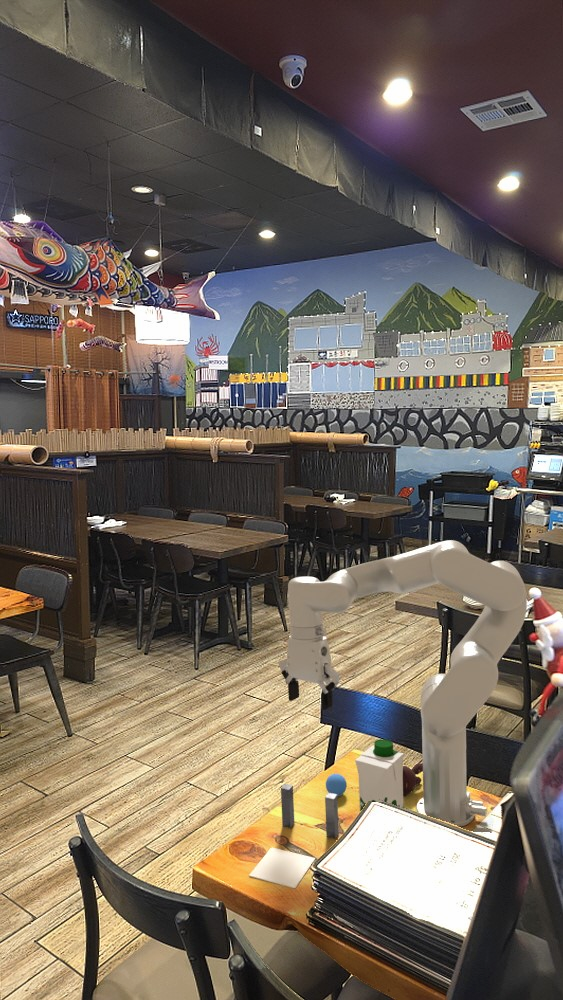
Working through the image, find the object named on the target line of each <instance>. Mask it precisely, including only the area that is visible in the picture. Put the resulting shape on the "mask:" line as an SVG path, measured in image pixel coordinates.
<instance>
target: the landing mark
mask: <svg viewBox="0 0 563 1000" xmlns="http://www.w3.org/2000/svg"><path fill="white" fill-rule="evenodd" d="M315 860H316V857H313V856H307V855H304V854H302V853H301V854H300V853H297V852H296V853H295V852H291V851H288V850H284V849H281V848H276V847H270V848H269V850H268V851H267V852H266V853H265V855H264V856H263V857H262V858H261V860H260V861H259V862H258V863H257V864H256V866H255V867H254V868H253V869H252V871H251V872H250V874H249V875H248V876H249V877H251V878H254V879H257V880H262V881H265V882H269V883H272V884H276V885H280V886H283V887H287V888H291V889H294V890H295V889H296V888H297V886H298V885H300V882H301V881H302V879H303V878H304V877H305V875H306V874H307V872H308V870H309V869H310V868H311V866H312V865H313V863H314V862H315ZM311 864H312V865H311Z"/></svg>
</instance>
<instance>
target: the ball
mask: <svg viewBox="0 0 563 1000" xmlns="http://www.w3.org/2000/svg"><path fill="white" fill-rule="evenodd" d="M347 783H348V782H347V780H346V778H345V777H344V776H343V775H342V774H339V773H332V774H330V775H329V776H328V778H326V780H325V789H326V791H327V793H333V794H337V797H340V796H342V795H343V794H345V792H346V790H347V786H348V785H347Z"/></svg>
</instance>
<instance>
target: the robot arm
mask: <svg viewBox="0 0 563 1000" xmlns="http://www.w3.org/2000/svg"><path fill="white" fill-rule="evenodd" d="M287 584H288V585H287V593H288V595H287V597H288V610H289V611H288V612H289V630H290V635H289V636H288V641H287V649H286V650H287V652H286V658H285V659H284V660H282V661H279V662H278V667H279V668H280V671H281V676H282V677H283V678H284V679H285V684H287V693H288V701H289V702H293V701H295V700H296V699H299V698H300V686H299V685H300V683H299V681H305V682H309V683H312V684H316V685H317V684H318V686H319V688H320V689H321V691H322V692H321V694H320V700H321V701H320V702H321V703H320V704H321V710H322V711H326V710H328V709H330V708H331V707H333V690H334V689H335V688H337V686H338V685H339V681H340V680H341V674H340V673H339V672H338V671H336V670H335V669H334V668H333V667H332V666H333V665H332V658H331V651H330V645H329V641H328V640H327V639H328V638H327V637H326V634H327V630H326V629H324V622H323V612H324V613H329V614H341V613H345V612H346V611H348V610H349V608H351V606H352V604H353V602H354V600H355V599H359V598H362V597H365V596H368V595H372V594H373V595H374V594H377V593H383V592H385V593H386V592H388V593H393V594H399V595H403V594H408V593H412V592H415V591H418V590H421V589H424V588H428V587H431V586H435V585H439V584H440V585H442V586H444V587H445V588H447V589H448V590H451V591H452V592H455V593H457V594H459V595H461V596H463V597H465V598H468V599H470V600H472V601H474V602H476V603H479V604H481V605H483V606H484V608H483V610H482V612H481V614H480V615H479V616H478V618H477V619H476V621H474V624H473V625H472V626H471V628H470V629H469V630H468V632H467V633H466V634H465V635H464V637H463V638H462V639H461V640H460V641H459V643H458V644H457V645H456V646H455V648H454V649H453V651H452V653H451V654H450V661H449V662H450V668H449V670H448V671H447V673H436V674H433V675H431V676H430V677H429V678H428V679H426V681H425V682H424V683H423V686H422V688H421V692H420V717H421V737H422V738H421V739H422V744H421V745H422V746H421V747H422V753H421V754H422V755H421V756H422V763H423V771H422V785H423V786H422V788H423V789H422V795H423V797H422V798H421V799H419V801H418V802H417V804H416V813H417V812H419V813H421V814H424V815H427V816H430V817H433V818H436V819H440V820H442V821H446V822H449V823H451V824H454V825H457V826H461V827H464V826H466V825H468V824H470V823H471V822H472V821H473V820H474V819H475V818H474V817H475V815H478V816H481V817H487V815H488V807H486V806H484V802H483V801H479V800H474V799H473V798H471V791H467V790H468V789H467V728H466V727H467V725H469V723H470V722H471V721H472V719H473V718H474V717H475V716H476V714H477V713H478V712H479V711H480V709H481V708H482V707H483V705H484V704H485V703H486V702H487V700H488V699H489V698H490V696H491V695H492V694H493V693H494V691H495V689H496V687H497V683H498V680H499V669H498V664H499V662H500V660H501V658H502V657H503V655H505V653H506V652H507V650H508V649H509V647H510V646H511V644H512V643H513V642H514V640H515V639H516V637H517V636H518V634H519V633H520V631H521V630H522V627H523V625H524V623H525V620H526V615H527V614H526V613H527V607H528V604H527V603H528V602H527V601H528V599H527V598H528V597H527V591H526V586H525V583H524V580H523V578H522V577H521V575H520V572H519V571H518V569H517V567H515V566H514V565H512V564H511V563H510V562H508V561H506V560H505V561H504V560H495V561H492V562H488V561H486V560H483V559H482V558H480V557H477V556H476V555H473V554H472V553H470V552H469V551H468V549H467V547H466V546H465V545H464V544H463V543H461V542H460V541H457V540H454V539H453V540H452V539H451V540H450V539H449V540H448V539H447V540H443V541H439V542H436V543H433V544H429V545H426V546H424V547H419V548H416V549H414V550H411V551H408V552H403V553H400V554H396V555H394V556H388V557H385V558H381V559H376V560H372V561H368V562H363V563H361V564H357V565H353V566H351V567H347V568H344V569H340V570H338V571H336V572H334V573H332V574H331V575H330V576H328V578H327V579H326V580H324V581H320V579H318V578H317V577H314V576H306V575H305V576H297V577H294V578H291V579H290V580H289V582H288V583H287ZM330 679H331V680H330Z"/></svg>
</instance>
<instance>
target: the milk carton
mask: <svg viewBox="0 0 563 1000" xmlns="http://www.w3.org/2000/svg"><path fill="white" fill-rule="evenodd" d="M373 743H374V744H373V745H371V746H370V747H369V748H367V749H366V750H365V751H364V752H362V753H360V756H358V757H357V758H356V759H355V765H356V770H357V773H358V793H359V794H358V795H359V796H358V797H359V801H358V802H359V812H360V811H361V810H362V809H363V807H364V806H365V804H366V803H367V802H368V801H372V802H382V800H383V801H385V802H388V803H392V804H394V805H396V806H399V807H402V808H403V809H404V797H403V766H404V756H405V754H404V753H402V752H399V751H397V750H394V743H393V741H392V740H390V739H384V738H383V739H382V738H381V739H377V740H375V741H374V742H373ZM379 799H380V800H379Z"/></svg>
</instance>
